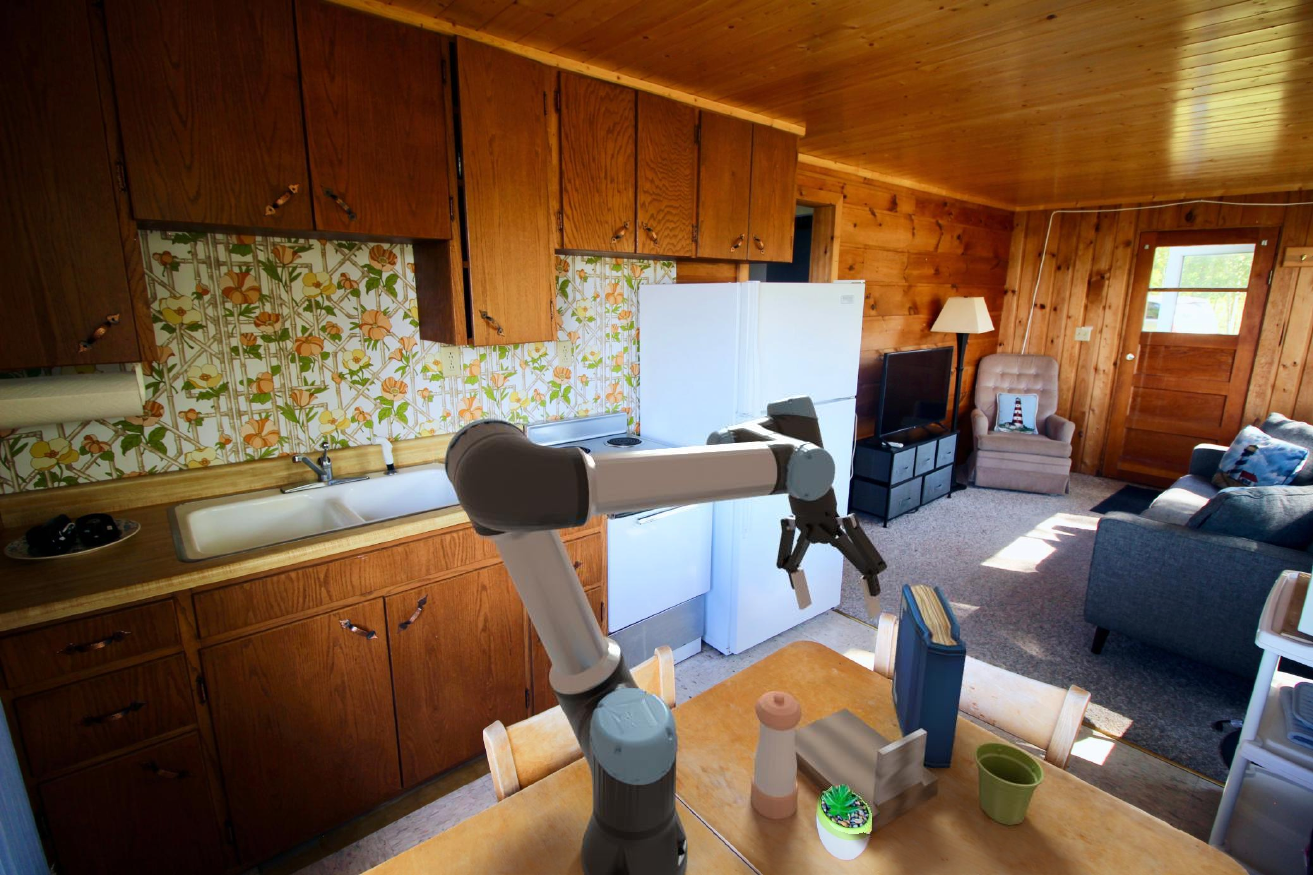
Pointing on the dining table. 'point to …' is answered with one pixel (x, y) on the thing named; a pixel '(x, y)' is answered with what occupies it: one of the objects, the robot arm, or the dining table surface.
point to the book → (928, 671)
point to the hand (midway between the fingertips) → (838, 610)
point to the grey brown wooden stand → (866, 764)
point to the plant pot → (1006, 781)
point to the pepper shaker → (776, 756)
